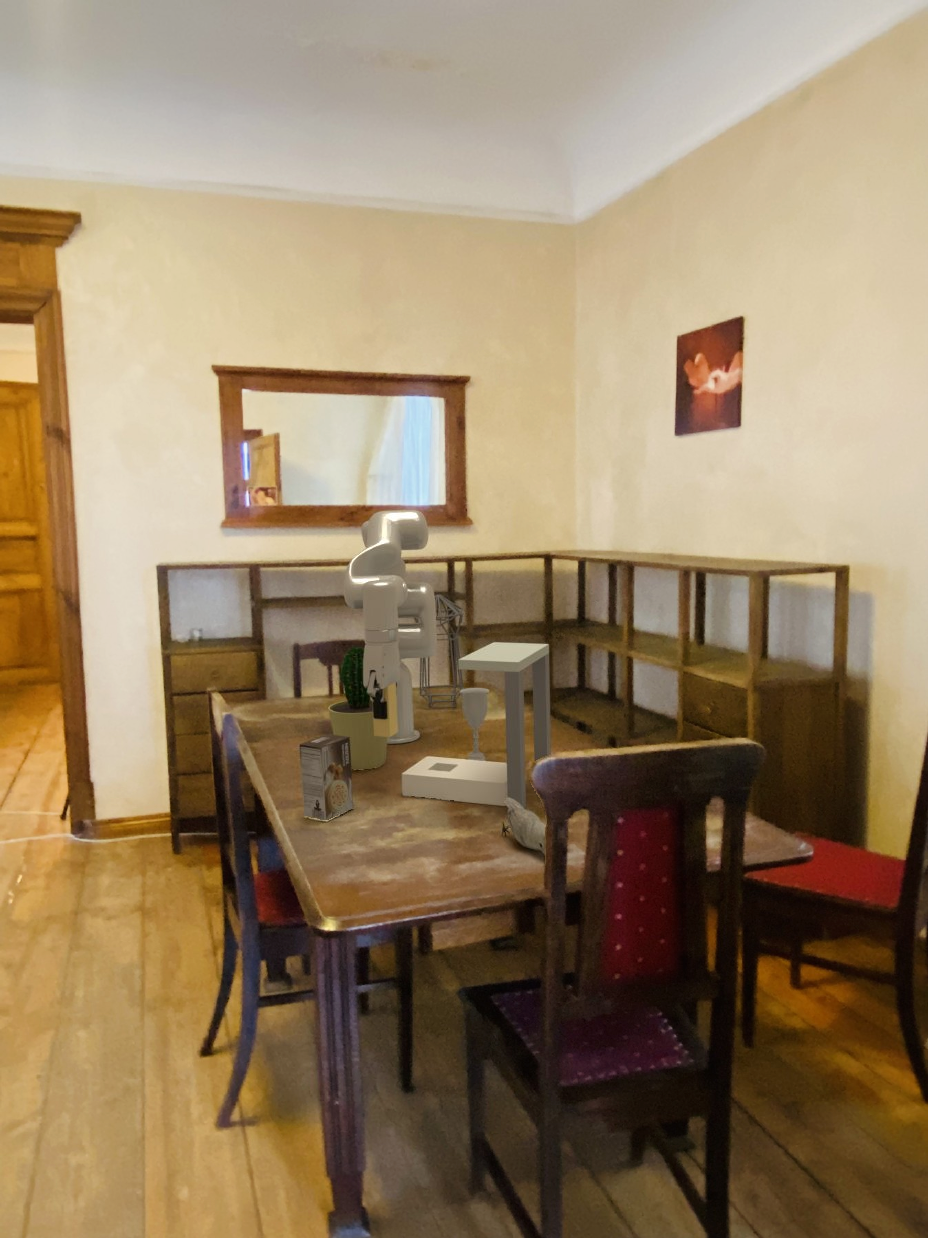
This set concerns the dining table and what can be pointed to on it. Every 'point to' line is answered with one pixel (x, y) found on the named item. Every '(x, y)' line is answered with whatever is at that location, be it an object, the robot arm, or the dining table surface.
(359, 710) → the potted cactus
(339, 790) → the coffee box
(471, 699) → the chalice
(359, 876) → the dining table surface
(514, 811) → the decorative bird
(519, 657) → the c-shaped stand
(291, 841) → the dining table surface
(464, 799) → the socket block
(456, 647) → the geometric lantern
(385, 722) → the peg
